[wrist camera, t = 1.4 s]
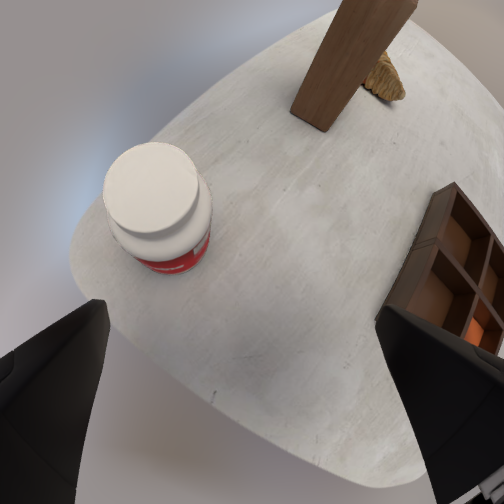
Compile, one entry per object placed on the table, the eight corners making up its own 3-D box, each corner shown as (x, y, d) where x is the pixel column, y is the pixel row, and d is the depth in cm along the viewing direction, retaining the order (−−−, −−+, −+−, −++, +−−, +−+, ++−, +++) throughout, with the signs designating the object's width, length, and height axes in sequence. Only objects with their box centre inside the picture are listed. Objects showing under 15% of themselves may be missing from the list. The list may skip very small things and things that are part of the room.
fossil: (338, 37, 32) (315, 51, 29) (359, 13, 27) (339, 22, 24) (397, 89, 34) (385, 113, 31) (421, 70, 29) (415, 91, 26)
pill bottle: (123, 255, 22) (66, 213, 11) (158, 192, 24) (132, 114, 13) (188, 289, 23) (174, 273, 12) (222, 223, 24) (237, 158, 13)
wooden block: (317, 72, 30) (378, -40, 12) (349, 90, 30) (422, -14, 12) (288, 112, 27) (357, -31, 10) (325, 134, 28) (418, 5, 10)
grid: (458, 391, 25) (480, 395, 21) (374, 320, 25) (399, 320, 21) (499, 277, 29) (519, 273, 25) (432, 193, 29) (454, 181, 25)
